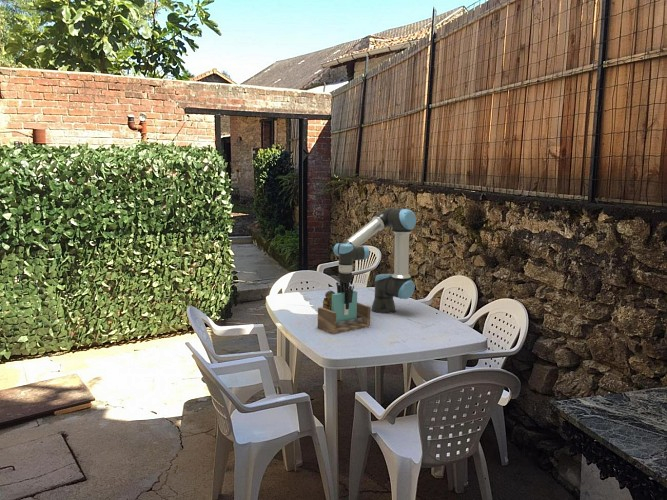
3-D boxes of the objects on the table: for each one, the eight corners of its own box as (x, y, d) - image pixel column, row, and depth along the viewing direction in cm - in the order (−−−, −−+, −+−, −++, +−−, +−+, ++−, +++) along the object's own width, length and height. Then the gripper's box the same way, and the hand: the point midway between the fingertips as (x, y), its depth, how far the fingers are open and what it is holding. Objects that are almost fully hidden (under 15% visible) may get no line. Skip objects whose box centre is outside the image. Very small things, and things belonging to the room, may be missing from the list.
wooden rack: (354, 321, 310) (354, 301, 309) (370, 326, 299) (370, 306, 298) (317, 328, 295) (317, 307, 293) (332, 334, 284) (333, 313, 282)
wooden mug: (322, 321, 309) (322, 290, 307) (320, 315, 323) (320, 285, 320) (337, 320, 310) (338, 290, 308) (334, 314, 324) (335, 285, 321)
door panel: (353, 318, 302) (354, 290, 300) (356, 319, 300) (357, 291, 298) (331, 322, 292) (331, 294, 290) (333, 323, 291) (334, 294, 288)
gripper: (331, 270, 297) (330, 311, 300) (348, 274, 284) (347, 318, 287) (342, 269, 301) (341, 310, 304) (359, 273, 289) (358, 316, 292)
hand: (344, 313), depth 296 cm, fingers closed on door panel, 2 cm apart
